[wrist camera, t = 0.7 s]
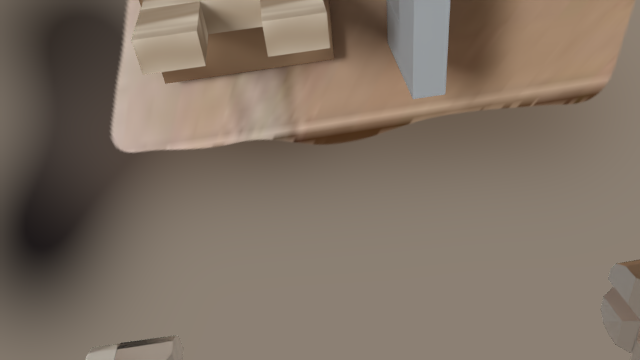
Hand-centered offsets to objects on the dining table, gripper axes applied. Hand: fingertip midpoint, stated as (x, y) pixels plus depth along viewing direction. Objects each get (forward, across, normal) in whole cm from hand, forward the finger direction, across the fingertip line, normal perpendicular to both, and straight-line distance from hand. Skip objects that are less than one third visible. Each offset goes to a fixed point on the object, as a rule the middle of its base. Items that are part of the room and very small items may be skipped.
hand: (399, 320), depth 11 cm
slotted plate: (+38, -9, +4) cm, 39 cm away
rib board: (+38, +4, +3) cm, 38 cm away
